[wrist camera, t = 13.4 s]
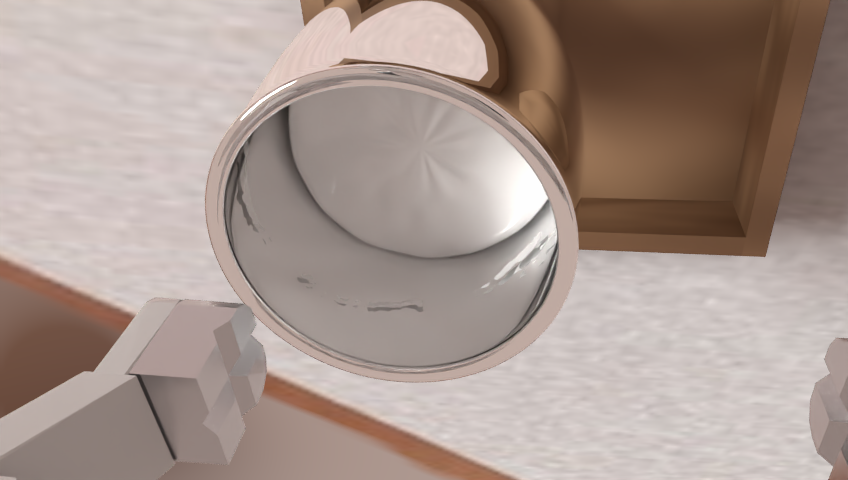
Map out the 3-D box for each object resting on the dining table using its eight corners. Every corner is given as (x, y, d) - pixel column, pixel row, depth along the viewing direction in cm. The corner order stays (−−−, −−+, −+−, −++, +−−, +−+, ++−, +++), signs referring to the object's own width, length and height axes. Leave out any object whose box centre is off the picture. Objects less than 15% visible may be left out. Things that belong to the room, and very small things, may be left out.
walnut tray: (300, -243, 22) (260, -244, 19) (856, -294, 19) (906, -303, 16) (360, 195, 31) (339, 240, 28) (745, 206, 28) (765, 256, 25)
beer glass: (611, -56, 22) (676, 161, 10) (521, 125, 26) (492, 436, 14) (411, -142, 22) (228, -24, 10) (351, 55, 26) (167, 315, 14)
